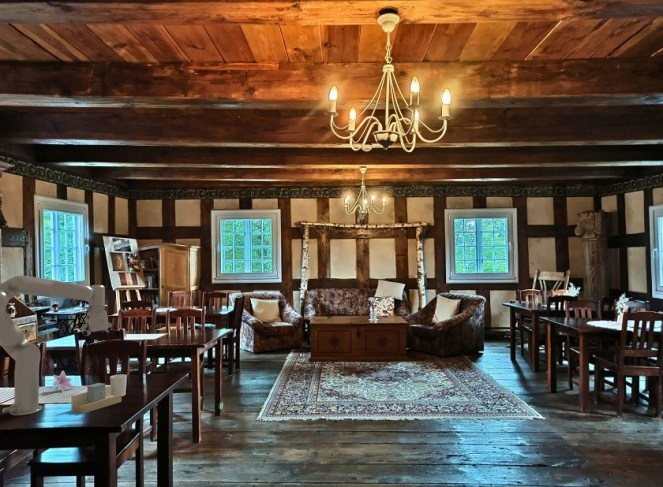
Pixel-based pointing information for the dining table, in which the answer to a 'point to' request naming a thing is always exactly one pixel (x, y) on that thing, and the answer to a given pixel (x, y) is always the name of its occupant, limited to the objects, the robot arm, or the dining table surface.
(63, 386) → the lily
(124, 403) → the dining table surface
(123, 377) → the white cup
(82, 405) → the cleat board
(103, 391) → the cabinet
